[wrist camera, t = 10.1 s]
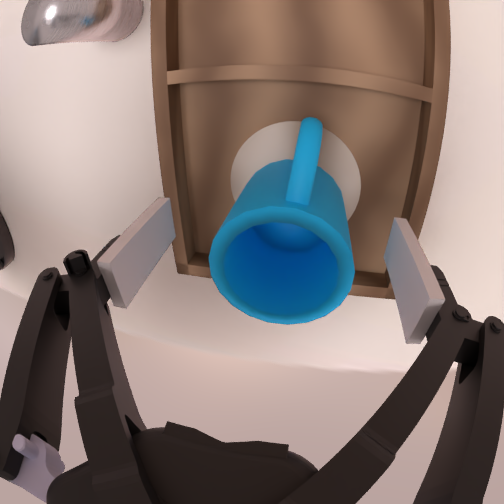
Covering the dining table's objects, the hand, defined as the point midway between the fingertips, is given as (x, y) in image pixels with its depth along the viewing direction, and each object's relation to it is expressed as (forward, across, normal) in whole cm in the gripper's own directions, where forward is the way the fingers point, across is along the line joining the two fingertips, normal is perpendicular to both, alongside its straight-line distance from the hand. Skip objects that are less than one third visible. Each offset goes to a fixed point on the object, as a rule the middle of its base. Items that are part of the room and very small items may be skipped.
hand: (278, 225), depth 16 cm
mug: (+6, +1, 0) cm, 7 cm away
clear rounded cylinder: (+8, -14, +15) cm, 23 cm away
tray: (+7, +1, +5) cm, 9 cm away
